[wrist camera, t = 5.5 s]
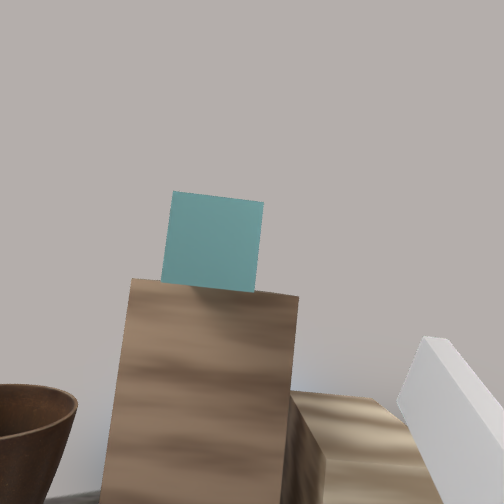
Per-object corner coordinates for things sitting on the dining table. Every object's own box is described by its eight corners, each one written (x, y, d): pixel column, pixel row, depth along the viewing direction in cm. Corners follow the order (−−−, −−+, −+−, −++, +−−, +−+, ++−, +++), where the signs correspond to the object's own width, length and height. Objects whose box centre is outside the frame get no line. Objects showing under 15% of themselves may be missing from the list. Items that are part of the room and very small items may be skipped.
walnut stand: (271, 794, 21) (316, 298, 24) (35, 786, 20) (112, 276, 23) (251, 546, 41) (276, 292, 44) (131, 538, 40) (166, 280, 43)
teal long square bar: (255, 294, 15) (265, 201, 15) (159, 283, 15) (172, 189, 15) (238, 288, 43) (242, 255, 43) (205, 285, 42) (209, 252, 43)
